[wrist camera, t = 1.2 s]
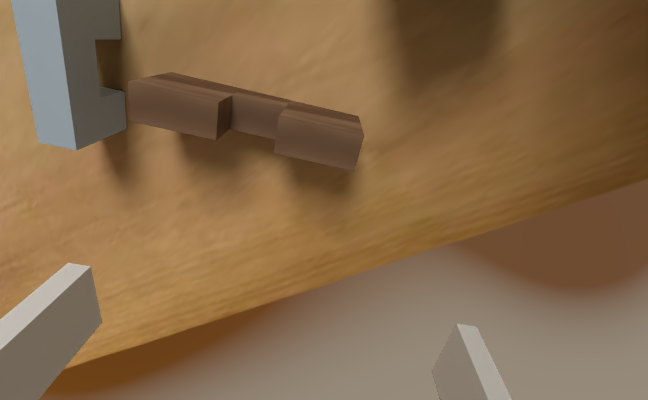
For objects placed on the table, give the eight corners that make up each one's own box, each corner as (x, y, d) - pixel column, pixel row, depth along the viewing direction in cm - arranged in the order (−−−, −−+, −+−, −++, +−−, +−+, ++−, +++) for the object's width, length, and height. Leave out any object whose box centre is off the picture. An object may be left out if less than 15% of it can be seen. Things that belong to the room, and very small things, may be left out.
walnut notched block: (171, 72, 30) (127, 81, 23) (358, 116, 31) (364, 136, 25) (171, 104, 31) (130, 120, 25) (350, 145, 32) (353, 171, 26)
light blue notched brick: (81, -18, 27) (3, -35, 20) (118, -9, 27) (52, -23, 21) (96, 122, 32) (38, 142, 26) (126, 128, 32) (76, 150, 26)
